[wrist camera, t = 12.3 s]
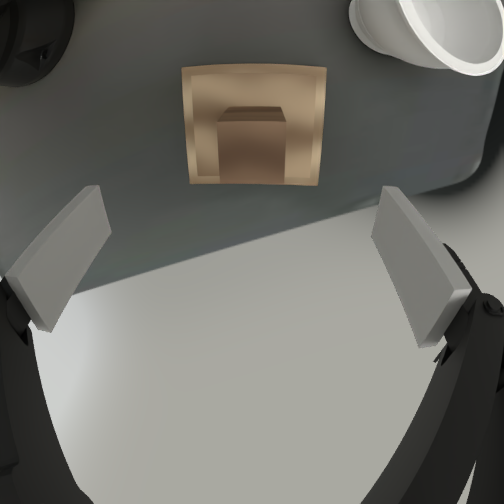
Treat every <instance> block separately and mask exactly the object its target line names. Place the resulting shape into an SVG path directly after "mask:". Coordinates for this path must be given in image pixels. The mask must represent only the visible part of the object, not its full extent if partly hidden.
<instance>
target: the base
mask: <svg viewBox="0 0 504 504" xmlns="http://www.w3.org/2000/svg"><path fill="white" fill-rule="evenodd" d="M326 70H327V68H324V67H314V66H302V65H287V64H220V65H204V66H192V67H182V89H183V106H184V120H185V134H186V146H187V157H188V168H189V178H190V184H220V176H219V159H218V140H217V121H218V120H219V118H220V117H221V116H222V115H223V113H224V112H225V111H226V110H227V108H228V107H234V106H275V107H281V109H282V111H283V114H284V117H285V119H286V152H285V178H284V184H283V185H308V186H318V178H319V168H320V158H321V146H322V135H323V122H324V107H325V90H326Z"/></svg>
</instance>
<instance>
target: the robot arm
mask: <svg viewBox="0 0 504 504" xmlns="http://www.w3.org/2000/svg"><path fill="white" fill-rule="evenodd" d="M73 22H74V6H73V1H72V0H0V85H1V86H8V87H20V86H24V85H27V84H31V83H34V82H36V81H38V80H40V79H41V78H43V77H44V76H45V75H46V74H48V73H49V72H50V71H51V70H52V68H53V67H54V66H55V65H56V63H57V62H58V61H59V59H60V58H61V56H62V54H63V52H64V50H65V48H66V46H67V44H68V41H69V39H70V35H71V32H72V28H73ZM111 233H112V232H111V228H110V225H109V222H108V218H107V214H106V211H105V207H104V203H103V199H102V195H101V191H100V187H99V185H90V186H86V187H85V188H84V189H83V190H82V191H80V192H79V193H78V194H77V195H76V196H75V197H74V198H73V199H72V200H71V201H70V202H69V203H68V204H67V205H66V206H65V207H64V208H63V209H62V210H61V211H60V212H59V213H58V214H57V215H56V216H55V217H54V218H53V219H52V220H51V222H50V223H49V224H48V225H47V226H46V227H45V228H44V229H43V230H42V231H41V232H40V234H39V235H38V236H37V237H36V238H35V239H34V240H33V241H32V243H31V244H30V245H29V246H28V247H27V248H26V250H25V251H24V252H23V253H22V254H21V256H20V257H19V258H18V259H17V261H16V262H15V263H14V264H13V266H12V267H11V268H10V270H9V271H8V272H7V273H6V275H5V276H4V278H3V279H2V280H1V282H0V504H94V503H93V502H92V501H91V500H90V498H89V497H88V496H87V495H86V494H85V493H84V492H83V491H82V490H80V489H79V487H78V486H77V484H76V482H75V480H74V478H73V476H72V473H71V471H70V469H69V466H68V464H67V462H66V459H65V457H64V454H63V452H62V449H61V447H60V444H59V441H58V439H57V435H56V433H55V430H54V427H53V424H52V420H51V417H50V414H49V411H48V407H47V404H46V400H45V396H44V392H43V389H42V385H41V380H40V376H39V371H38V367H37V361H36V356H35V350H34V344H33V338H32V332H31V329H30V328H29V326H28V324H29V322H30V320H32V321H33V323H34V324H35V326H36V327H37V329H38V330H42V331H46V332H50V333H51V332H52V330H53V328H54V326H55V325H56V323H57V321H58V319H59V317H60V315H61V313H62V312H63V310H64V308H65V306H66V304H67V303H68V301H69V299H70V297H71V296H72V294H73V292H74V291H75V289H76V287H77V286H78V284H79V282H80V281H81V279H82V277H83V276H84V274H85V272H86V271H87V269H88V268H89V266H90V265H91V263H92V261H93V260H94V258H95V257H96V255H97V254H98V252H99V251H100V249H101V248H102V246H103V245H104V243H105V242H106V240H107V239H108V237H109V236H110V234H111ZM371 237H372V239H373V241H374V243H375V245H376V247H377V249H378V251H379V254H380V256H381V258H382V260H383V262H384V264H385V266H386V269H387V270H388V273H389V275H390V277H391V280H392V282H393V284H394V286H395V288H396V291H397V293H398V296H399V298H400V300H401V303H402V305H403V307H404V310H405V312H406V315H407V318H408V320H409V323H410V325H411V328H412V331H413V333H414V336H415V339H416V341H417V344H418V347H419V348H424V347H431V346H436V345H437V344H438V342H439V341H440V339H441V338H442V336H443V335H444V336H445V338H446V341H447V344H446V345H445V346H444V348H443V349H442V350H441V352H440V353H439V354H438V356H437V357H436V358H435V360H434V362H435V363H436V362H437V361H438V359H439V361H438V364H437V367H436V369H435V371H434V374H433V376H432V379H431V381H430V384H429V386H428V389H427V391H426V393H425V395H424V398H423V400H422V402H421V404H420V406H419V408H418V410H417V412H416V414H415V416H414V418H413V420H412V423H411V424H410V426H409V428H408V430H407V432H406V434H405V436H404V437H403V439H402V441H401V443H400V445H399V446H398V448H397V450H396V451H395V453H394V455H393V456H392V458H391V460H390V461H389V463H388V465H387V466H386V468H385V469H384V471H383V472H382V474H381V476H380V477H379V479H378V480H377V481H376V483H375V484H374V486H373V487H372V489H371V490H370V491H369V493H368V494H367V495H366V497H365V498H364V500H363V501H362V502H361V504H457V502H458V500H459V498H460V496H461V494H462V492H463V490H464V488H465V486H466V483H467V481H468V479H469V476H470V474H471V472H472V469H473V466H474V464H475V461H476V465H475V470H474V475H473V480H472V484H471V488H470V492H469V496H468V499H467V503H466V504H504V307H503V305H502V304H501V302H500V301H499V300H498V299H497V298H495V297H494V296H492V295H490V294H487V293H486V294H485V293H482V292H481V291H480V289H479V287H478V286H477V284H476V283H475V281H474V280H473V278H472V276H471V275H470V274H469V272H468V270H466V269H465V266H464V264H463V263H462V262H461V260H460V259H459V257H458V256H457V255H456V253H455V252H454V251H453V250H452V249H451V248H450V247H449V246H447V245H446V244H444V243H442V242H441V241H440V240H439V238H438V237H437V236H436V234H435V233H434V232H433V230H432V229H431V228H430V226H429V225H428V224H427V222H426V221H425V220H424V219H423V217H422V216H421V215H420V213H419V212H418V211H417V210H416V209H415V207H414V206H413V205H412V204H411V202H410V201H409V200H408V199H407V198H406V196H405V195H404V194H403V193H402V192H401V191H400V189H399V188H398V187H391V186H383V188H382V193H381V197H380V202H379V206H378V210H377V215H376V219H375V223H374V227H373V231H372V235H371Z"/></svg>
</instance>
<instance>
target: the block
mask: <svg viewBox="0 0 504 504" xmlns="http://www.w3.org/2000/svg"><path fill="white" fill-rule="evenodd" d="M217 140H218V159H219V176H220V184H284V178H285V152H286V119H285V117H284V114H283V111H282V109H281V107H275V106H234V107H228V108H227V110H226V111H225V112H224V113H223V115H222V116H221V117H220V118H219V120H218V121H217Z"/></svg>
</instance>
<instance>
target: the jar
mask: <svg viewBox="0 0 504 504" xmlns="http://www.w3.org/2000/svg"><path fill="white" fill-rule="evenodd" d="M349 19H350V23H351V26H352V28H353V30H354V32H355V33H356V35H357V36H358V38H359V39H360V40H361V41H362V42H363V43H364V44H365V45H367V46H368V47H369V48H371V49H373V50H374V51H377V52H379V53H382V54H386V55H391V56H393V57H396V58H398V59H401V60H403V61H406V62H408V63H411V64H414V65H418V66H422V67H427V68H436V69H452V70H454V71H457V72H460V73H463V74H467V75H473V76H479V75H485V74H488V73H490V72H492V71H493V70H495V69H496V68H497V67H498V66H499V65H500V64H501V62H502V61H503V59H504V8H503V6H502V3H501V1H500V0H352V1H351V3H350V6H349Z"/></svg>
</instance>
